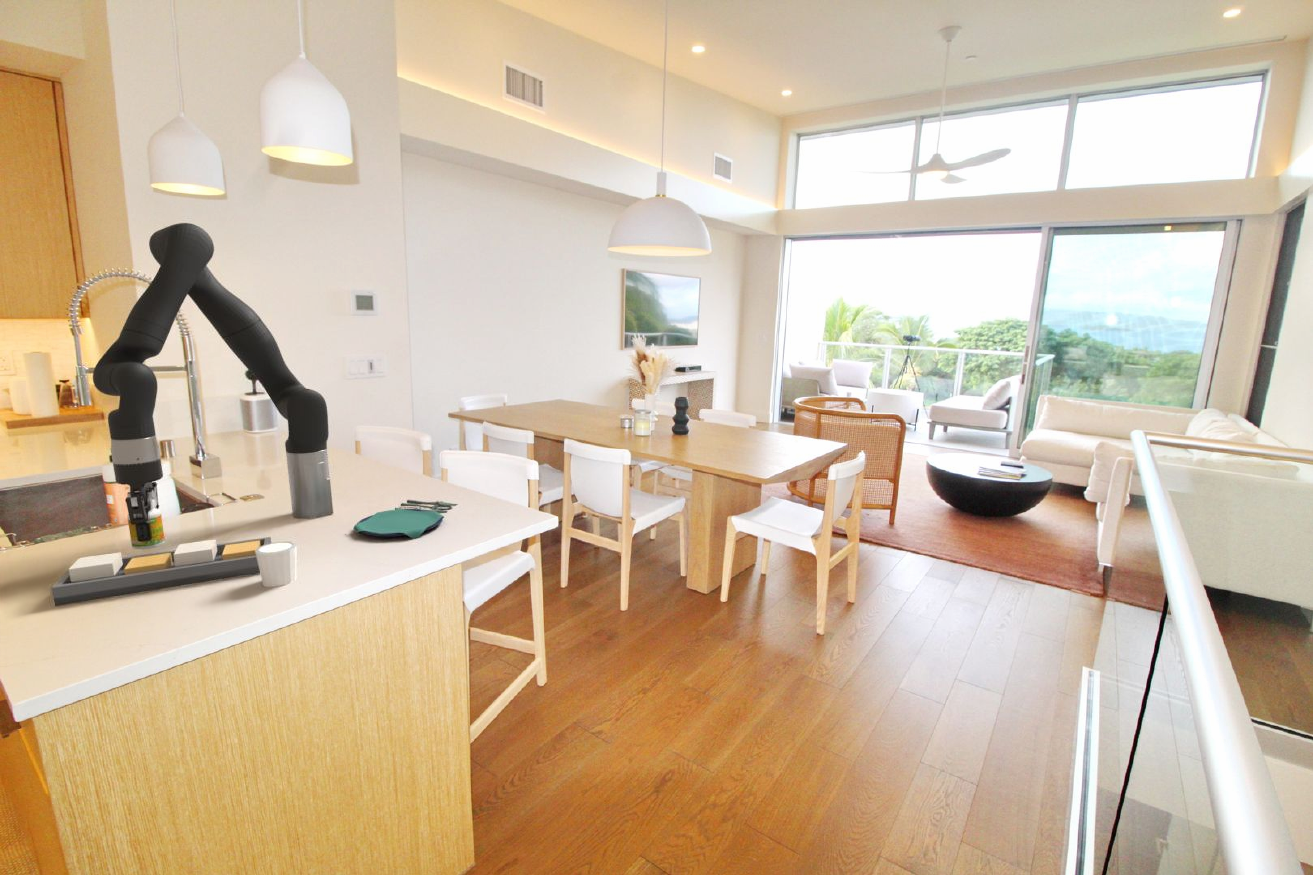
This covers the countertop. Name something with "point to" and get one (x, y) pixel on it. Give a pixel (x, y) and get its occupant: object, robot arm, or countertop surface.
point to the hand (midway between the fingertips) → (148, 535)
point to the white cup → (277, 563)
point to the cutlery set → (403, 520)
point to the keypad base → (155, 577)
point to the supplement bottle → (155, 530)
